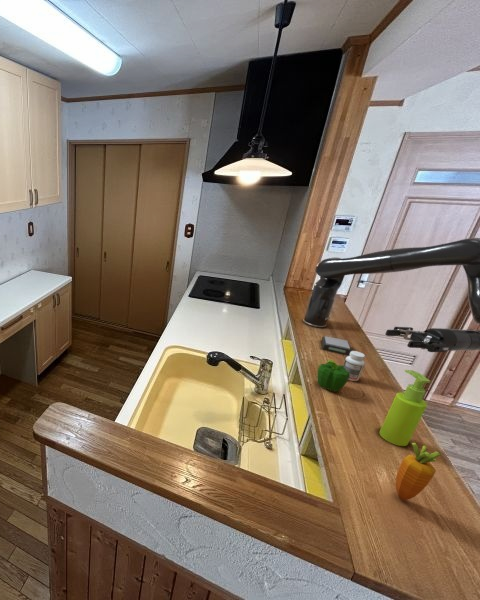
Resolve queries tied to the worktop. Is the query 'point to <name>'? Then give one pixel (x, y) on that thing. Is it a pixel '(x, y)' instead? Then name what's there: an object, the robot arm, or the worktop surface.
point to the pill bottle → (354, 365)
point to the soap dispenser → (405, 412)
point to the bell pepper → (332, 376)
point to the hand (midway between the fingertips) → (397, 338)
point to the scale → (336, 345)
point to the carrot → (415, 473)
